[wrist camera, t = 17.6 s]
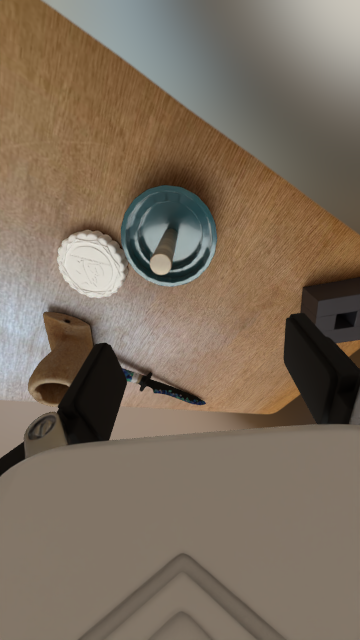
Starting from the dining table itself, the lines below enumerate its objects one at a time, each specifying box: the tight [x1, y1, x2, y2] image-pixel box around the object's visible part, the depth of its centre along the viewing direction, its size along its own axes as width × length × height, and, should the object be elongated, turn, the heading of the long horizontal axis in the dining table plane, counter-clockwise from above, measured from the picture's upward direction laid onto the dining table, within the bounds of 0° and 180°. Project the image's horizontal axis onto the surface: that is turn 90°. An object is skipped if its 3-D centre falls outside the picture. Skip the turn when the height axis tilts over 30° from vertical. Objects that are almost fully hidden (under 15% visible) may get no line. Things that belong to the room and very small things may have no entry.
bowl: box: [121, 185, 217, 287], centre depth 35 cm, size 14×14×6 cm
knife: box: [122, 368, 206, 405], centre depth 55 cm, size 31×3×4 cm, turn 54°
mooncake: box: [57, 230, 128, 298], centre depth 39 cm, size 12×12×4 cm
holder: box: [301, 277, 360, 343], centre depth 41 cm, size 10×10×6 cm
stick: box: [150, 229, 178, 275], centre depth 30 cm, size 2×2×16 cm
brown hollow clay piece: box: [28, 312, 93, 407], centre depth 44 cm, size 15×12×15 cm
